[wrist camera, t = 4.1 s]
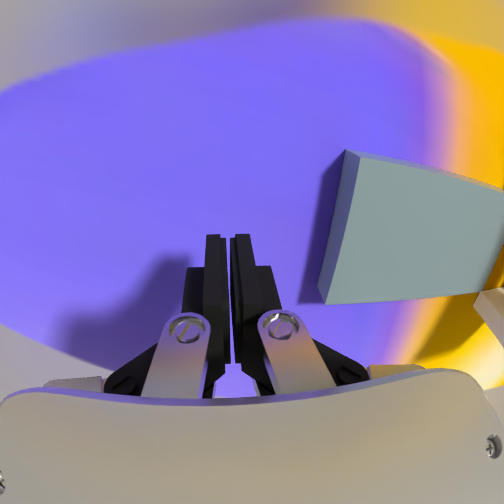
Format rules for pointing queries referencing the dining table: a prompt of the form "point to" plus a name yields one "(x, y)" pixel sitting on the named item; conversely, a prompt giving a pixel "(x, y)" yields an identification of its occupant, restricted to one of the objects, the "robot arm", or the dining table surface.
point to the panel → (409, 232)
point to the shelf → (492, 310)
